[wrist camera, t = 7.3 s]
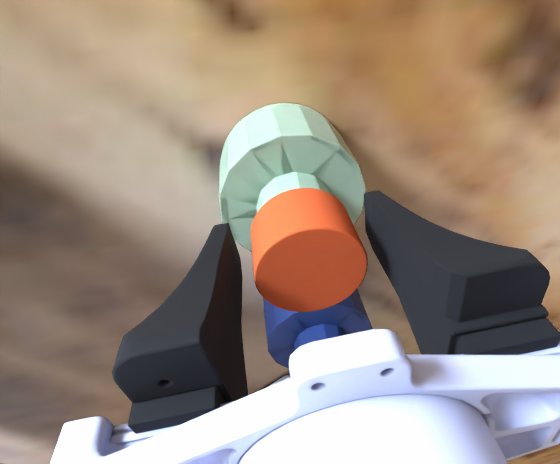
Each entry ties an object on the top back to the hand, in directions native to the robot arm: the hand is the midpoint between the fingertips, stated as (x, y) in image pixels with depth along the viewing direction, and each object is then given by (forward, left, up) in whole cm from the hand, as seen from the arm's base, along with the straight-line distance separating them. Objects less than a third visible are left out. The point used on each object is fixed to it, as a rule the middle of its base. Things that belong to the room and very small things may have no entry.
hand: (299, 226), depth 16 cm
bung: (0, 0, -1) cm, 1 cm away
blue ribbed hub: (-9, +6, -6) cm, 12 cm away
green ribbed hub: (0, 0, -6) cm, 6 cm away
